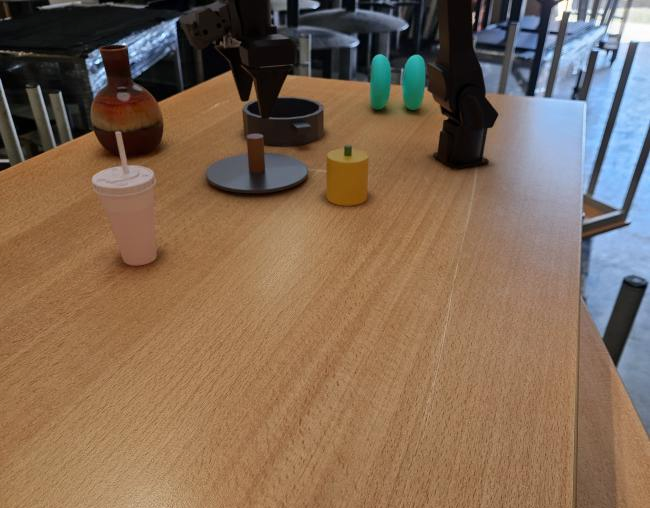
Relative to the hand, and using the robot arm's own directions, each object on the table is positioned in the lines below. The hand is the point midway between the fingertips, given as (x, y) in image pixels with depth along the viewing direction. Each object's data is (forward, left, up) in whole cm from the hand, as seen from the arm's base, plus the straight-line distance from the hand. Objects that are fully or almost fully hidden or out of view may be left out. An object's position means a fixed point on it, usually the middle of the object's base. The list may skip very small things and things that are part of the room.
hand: (254, 109), depth 79 cm
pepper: (-9, +12, -10) cm, 18 cm away
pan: (-11, -18, -10) cm, 23 cm away
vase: (+15, -20, -10) cm, 27 cm away
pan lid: (0, 0, -9) cm, 9 cm away
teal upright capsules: (-37, -24, -10) cm, 45 cm away
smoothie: (+20, +18, -10) cm, 29 cm away
